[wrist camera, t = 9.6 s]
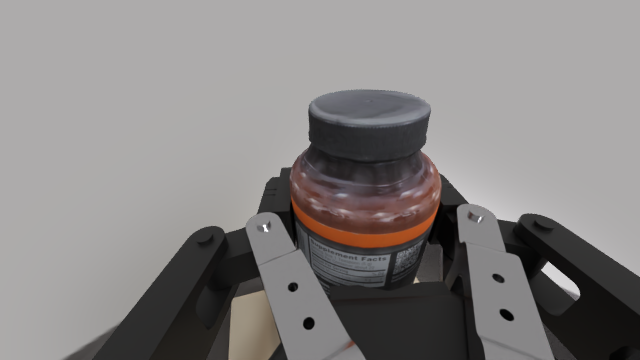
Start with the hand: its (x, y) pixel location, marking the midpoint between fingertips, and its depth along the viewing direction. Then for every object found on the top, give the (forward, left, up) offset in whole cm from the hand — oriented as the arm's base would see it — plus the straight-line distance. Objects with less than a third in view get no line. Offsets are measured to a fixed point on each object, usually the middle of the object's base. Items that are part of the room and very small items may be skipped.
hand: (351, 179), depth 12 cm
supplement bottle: (+1, +2, -7) cm, 7 cm away
